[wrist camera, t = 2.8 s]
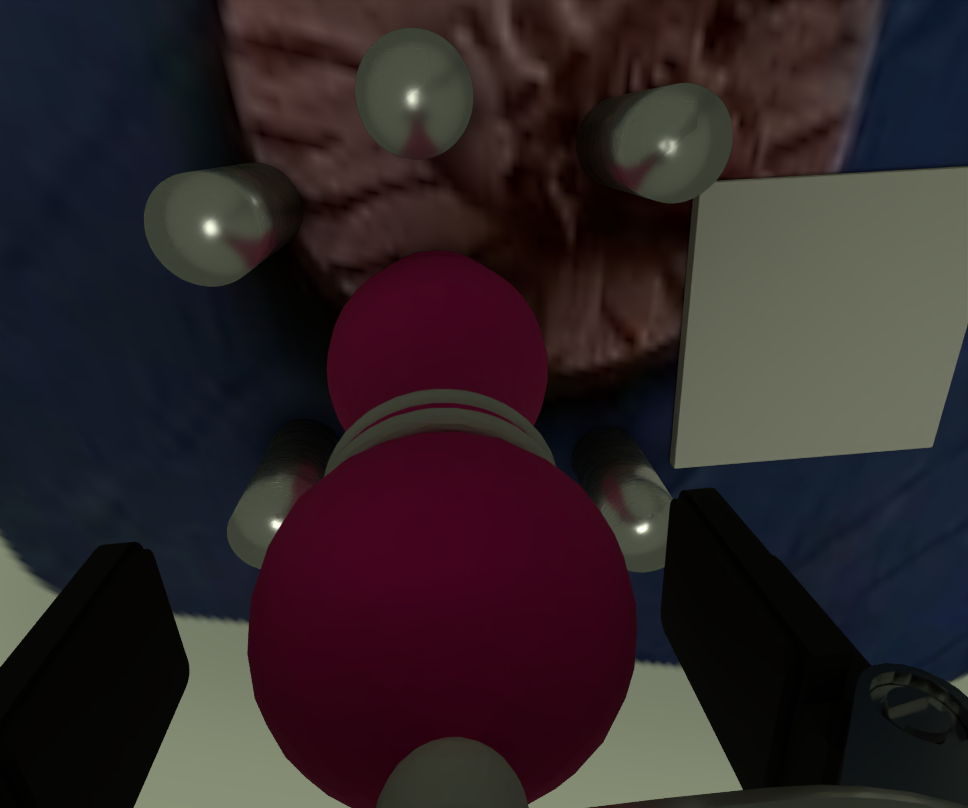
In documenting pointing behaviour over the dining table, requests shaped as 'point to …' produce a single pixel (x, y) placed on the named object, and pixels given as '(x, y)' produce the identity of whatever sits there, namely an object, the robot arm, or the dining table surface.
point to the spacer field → (421, 135)
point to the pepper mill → (440, 565)
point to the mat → (820, 315)
